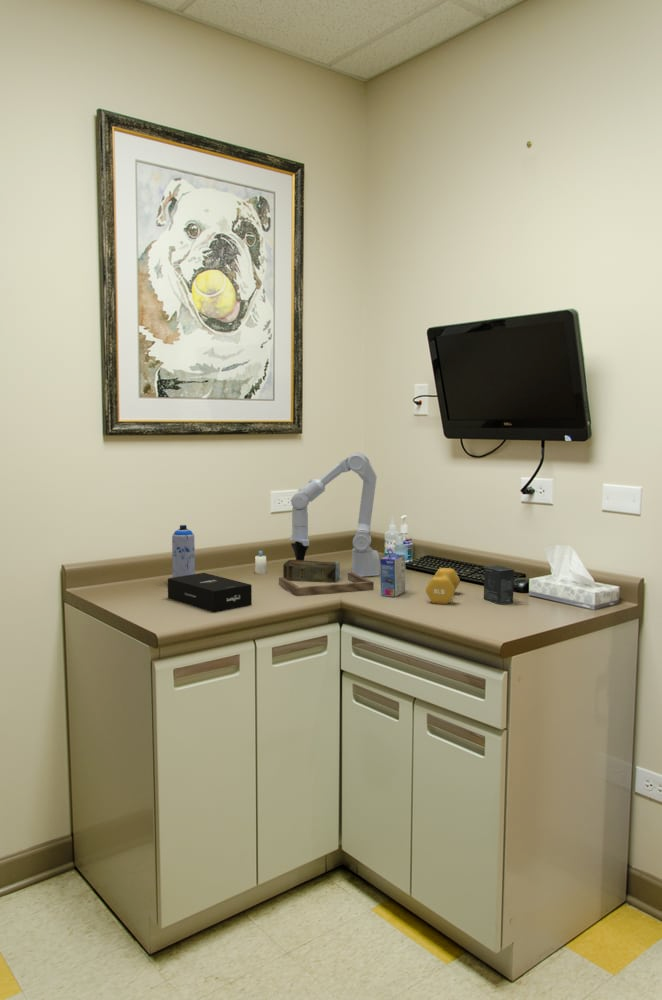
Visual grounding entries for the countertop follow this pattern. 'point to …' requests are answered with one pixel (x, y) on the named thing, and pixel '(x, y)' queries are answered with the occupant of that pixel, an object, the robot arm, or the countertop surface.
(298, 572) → the beverage carton
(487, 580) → the box
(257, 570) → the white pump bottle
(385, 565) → the ink cartridge box
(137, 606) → the countertop surface
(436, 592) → the dumbbell
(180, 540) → the aerosol can
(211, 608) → the box
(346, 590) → the display bay
